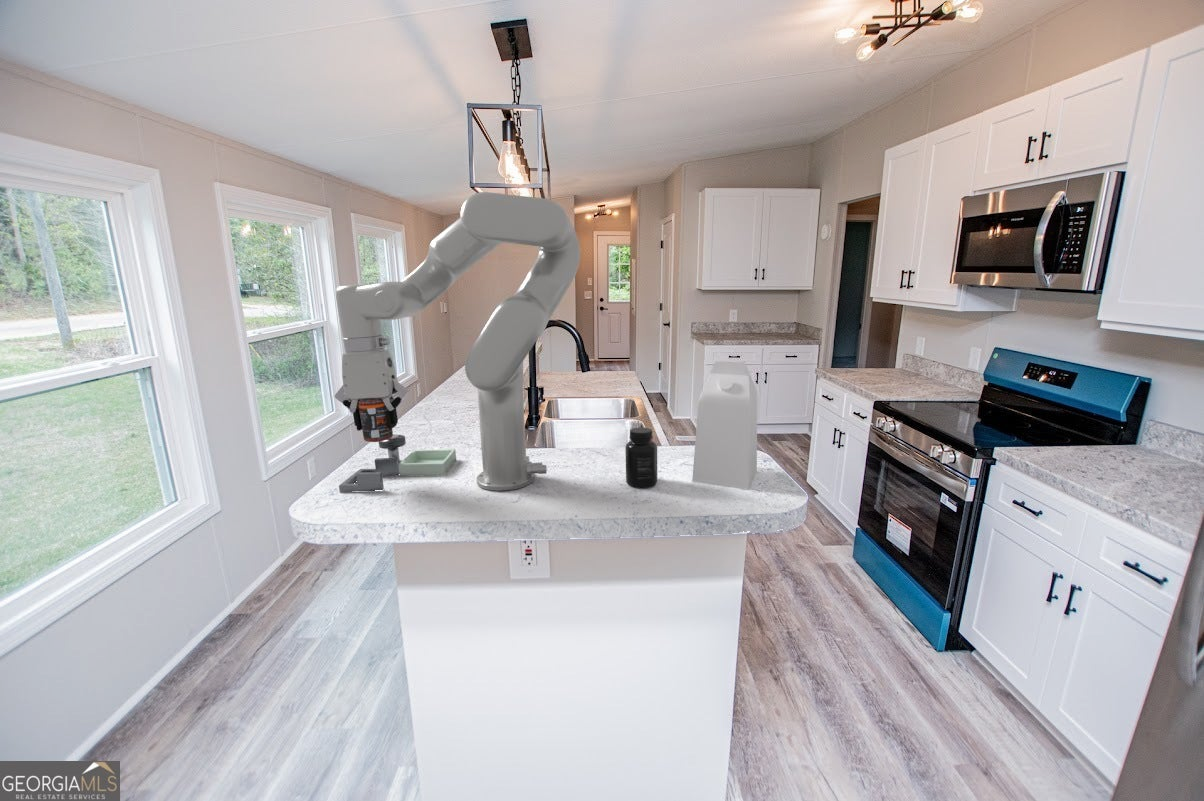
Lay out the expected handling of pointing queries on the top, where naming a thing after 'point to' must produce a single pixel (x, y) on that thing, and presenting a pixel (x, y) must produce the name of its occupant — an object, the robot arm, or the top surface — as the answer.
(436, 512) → the top surface
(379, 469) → the bracket
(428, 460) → the tray
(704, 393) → the milk
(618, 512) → the top surface
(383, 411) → the supplement bottle
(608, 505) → the top surface
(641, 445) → the supplement bottle
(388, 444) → the pulley
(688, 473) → the top surface
